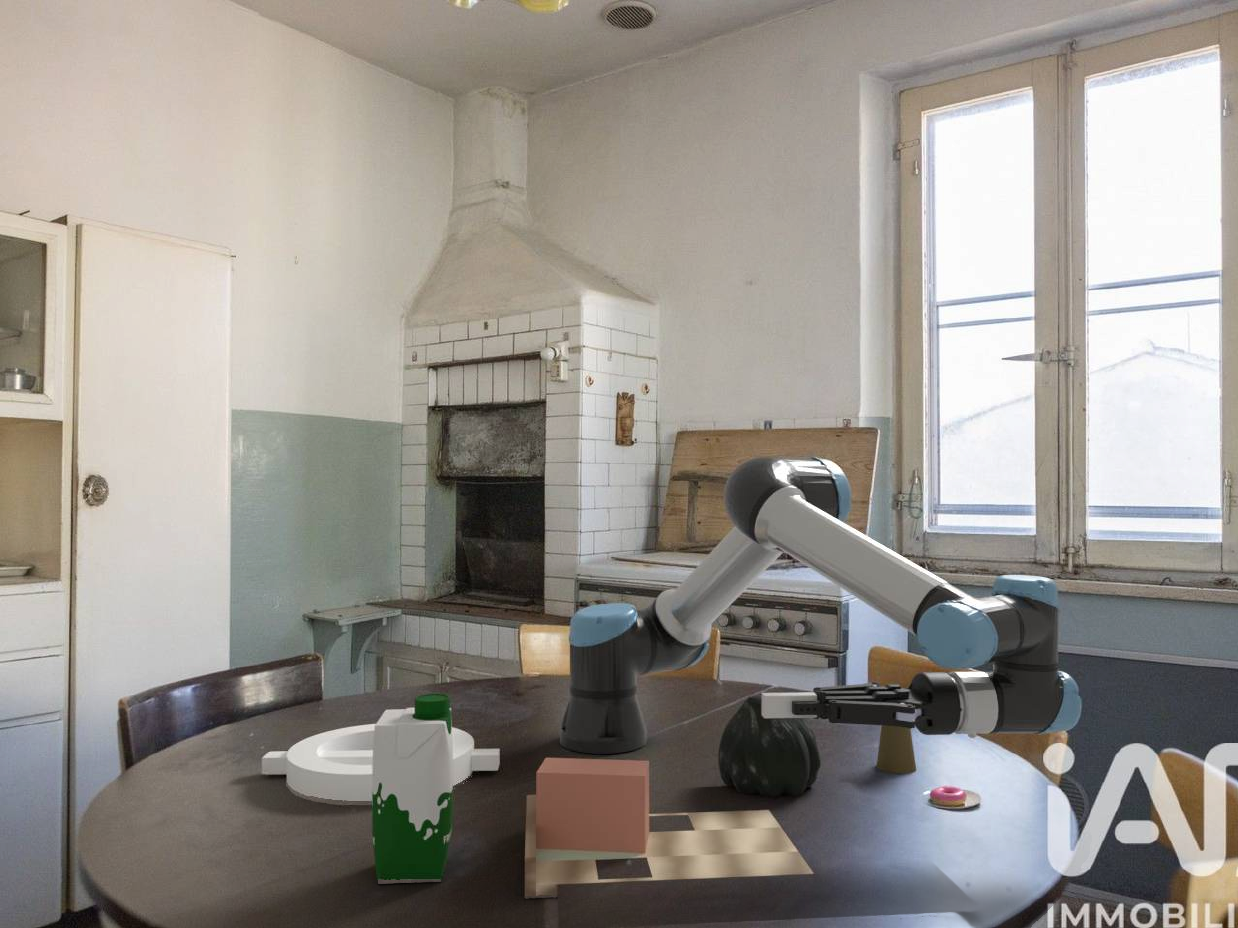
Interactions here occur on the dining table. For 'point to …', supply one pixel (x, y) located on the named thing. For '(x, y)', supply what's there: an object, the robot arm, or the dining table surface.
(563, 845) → the brick
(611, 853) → the pad
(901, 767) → the cork
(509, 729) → the dining table surface
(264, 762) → the ring with crossbar
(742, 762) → the squash
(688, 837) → the board
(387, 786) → the milk carton
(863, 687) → the robot arm
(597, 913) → the dining table surface
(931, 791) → the donut
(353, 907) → the dining table surface
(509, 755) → the dining table surface
